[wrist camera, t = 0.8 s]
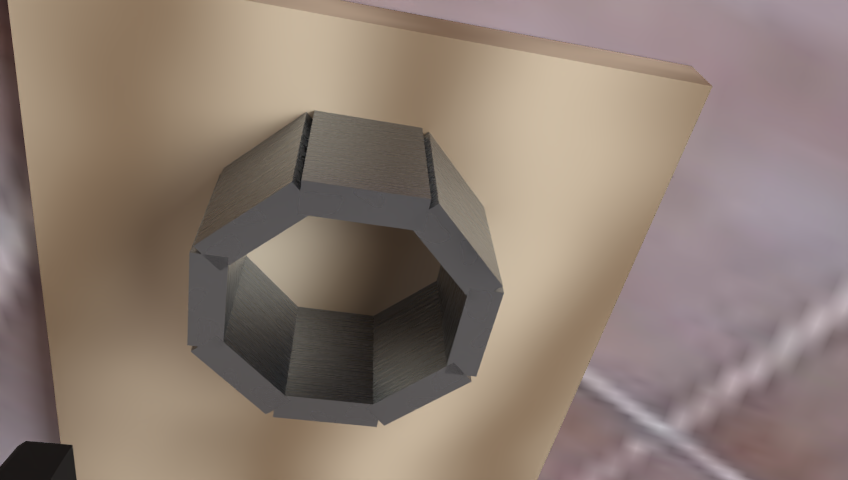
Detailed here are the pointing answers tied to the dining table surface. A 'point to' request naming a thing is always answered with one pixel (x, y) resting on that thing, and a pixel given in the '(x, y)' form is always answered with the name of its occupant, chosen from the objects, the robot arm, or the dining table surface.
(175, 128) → the board
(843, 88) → the dining table surface
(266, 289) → the ring hub
